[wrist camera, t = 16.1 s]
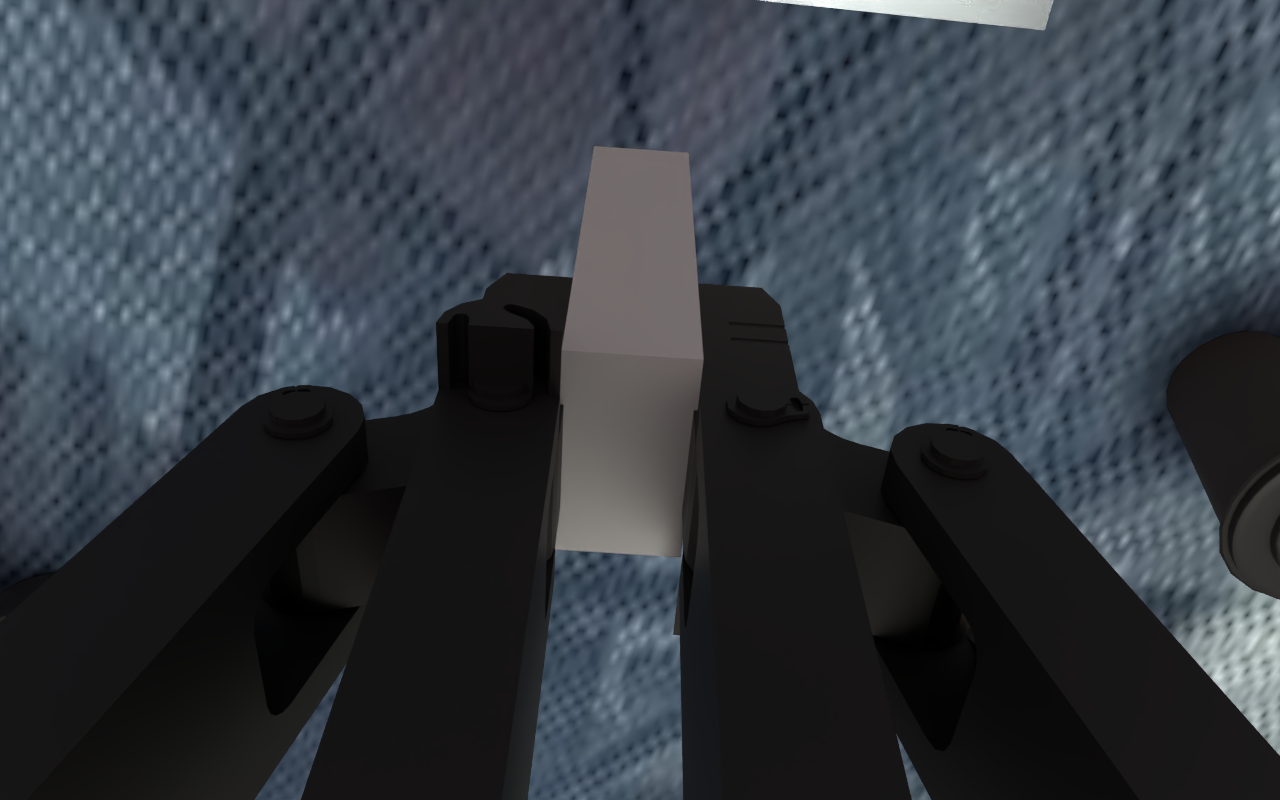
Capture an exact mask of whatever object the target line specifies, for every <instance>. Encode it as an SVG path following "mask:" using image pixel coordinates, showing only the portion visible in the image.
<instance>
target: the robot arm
mask: <svg viewBox="0 0 1280 800" xmlns="http://www.w3.org/2000/svg"><path fill="white" fill-rule="evenodd" d="M784 327H785V325H784V320H783V316H782V311H781V307H780V305H779V304H778V303H777V302H776V301H775V300H774V299H773V298H772V297H771V296H770V295H768V294H767V293H766V292H765V291H764V290H763V289H762V288H755V287H741V286H726V285H712V284H698V277H697V263H696V250H695V236H694V223H693V209H692V195H691V182H690V168H689V155H688V153H683V152H669V151H655V150H641V149H627V148H613V147H600V146H594V151H593V157H592V163H591V169H590V176H589V182H588V188H587V194H586V201H585V207H584V213H583V219H582V225H581V232H580V238H579V244H578V250H577V257H576V263H575V269H574V275H573V278H570V277H556V276H541V275H527V274H512V273H506V274H505V275H503V276H502V277H501V278H500V279H498V280H497V281H496V282H494V283H493V284H492V285H490V286H489V287H488V288H487V289H486V291H485V294H484V297H483V299H480V300H476V301H471V302H466V303H462V304H460V305H458V306H456V307H454V308H452V309H450V310H448V311H446V312H444V314H443V315H442V316H441V317H440V318H439V320H438V321H437V322H436V335H437V359H438V383H439V390H438V393H437V396H436V399H435V402H434V405H432V406H430V407H429V408H426V409H423V410H420V411H417V412H414V413H411V414H406V415H400V416H395V417H388V418H380V419H372V420H365V417H364V412H363V408H362V404H361V403H359V402H358V401H357V400H356V399H355V398H354V397H353V396H351V395H350V394H348V393H345V392H342V391H340V390H337V389H334V388H331V387H321V386H312V385H298V386H296V387H295V386H290V387H284V388H280V389H278V390H274V391H271V392H268V393H265V394H262V395H259V396H257V397H256V398H254V399H253V400H251V401H249V402H248V403H246V404H245V405H243V406H241V407H240V408H239V409H238V410H237V411H236V412H235V413H233V414H232V415H231V416H230V417H229V418H228V419H227V420H226V421H225V422H223V423H222V424H221V425H220V426H219V427H218V428H217V429H216V430H214V431H213V432H212V433H211V434H210V435H209V436H208V437H207V438H206V439H204V440H203V441H202V442H201V443H200V444H199V445H198V446H197V447H195V448H194V449H193V450H192V451H191V452H190V453H189V454H188V455H187V456H185V457H184V458H183V459H182V460H181V461H180V462H179V463H178V464H177V465H175V466H174V467H173V468H172V469H171V470H170V471H169V472H168V473H166V474H165V475H164V476H163V477H162V478H161V479H160V480H159V481H158V482H156V483H155V484H154V485H153V486H152V487H151V488H150V489H149V490H147V491H146V492H145V493H144V494H143V495H142V496H141V497H140V498H139V499H137V500H136V501H135V502H134V503H133V504H132V505H131V506H130V507H129V508H127V509H126V510H125V511H124V512H123V513H122V514H121V515H120V516H118V517H117V518H116V519H115V520H114V521H113V522H112V523H111V524H110V525H108V526H107V527H106V528H105V529H104V530H103V531H102V532H101V533H99V534H98V535H97V536H96V537H95V538H94V539H93V540H92V541H91V542H89V543H88V544H87V545H86V546H85V547H84V548H83V549H82V550H80V551H79V552H78V553H77V554H76V555H75V556H74V557H73V558H72V559H70V560H69V561H68V562H67V563H66V564H65V565H64V566H63V567H62V568H60V569H59V570H58V571H57V572H56V573H52V574H46V575H41V576H37V577H33V578H29V579H26V580H24V581H21V582H19V583H17V584H15V585H13V586H11V587H9V588H7V589H6V590H4V591H3V592H2V593H0V800H254V799H255V798H256V796H257V795H258V793H259V792H260V790H261V789H262V787H263V786H264V784H265V783H266V782H267V780H268V779H269V777H270V776H271V774H272V773H273V771H274V770H275V768H276V767H277V765H278V764H279V762H280V761H281V759H282V758H283V756H284V755H285V753H286V752H287V751H288V749H289V748H290V746H291V745H292V743H293V742H294V740H295V739H296V737H297V736H298V734H299V733H300V731H301V730H302V728H303V727H304V725H305V724H306V722H307V721H308V720H309V718H310V717H311V715H312V714H313V712H314V711H315V709H316V708H317V706H318V705H319V703H320V702H321V700H322V699H323V697H324V696H325V694H326V693H327V691H328V690H329V689H330V687H331V686H332V684H333V683H334V681H335V680H336V678H337V677H338V675H339V674H340V672H341V671H342V669H343V668H344V666H345V665H346V667H345V670H344V673H343V676H342V679H341V682H340V685H339V688H338V691H337V694H336V697H335V700H334V703H333V706H332V709H331V712H330V715H329V718H328V721H327V724H326V727H325V730H324V733H323V736H322V739H321V742H320V745H319V747H318V750H317V753H316V756H315V759H314V762H313V765H312V768H311V771H310V774H309V777H308V780H307V783H306V786H305V789H304V792H303V795H302V798H301V800H527V799H528V791H529V783H530V774H531V766H532V758H533V750H534V741H535V733H536V725H537V717H538V708H539V700H540V692H541V684H542V675H543V667H544V659H545V651H546V642H547V634H548V626H549V617H550V609H551V601H552V593H553V584H554V568H555V549H557V550H573V551H589V552H605V553H621V554H637V555H653V556H669V557H681V549H682V540H683V556H682V565H681V573H680V582H679V590H678V599H677V607H676V615H675V624H674V632H673V635H680V662H681V711H682V760H683V800H912V799H911V795H910V790H909V786H908V782H907V778H906V774H905V769H904V765H903V761H902V757H901V752H900V748H899V744H898V740H897V736H896V734H897V735H898V737H899V739H900V741H901V743H902V745H903V747H904V749H905V751H906V752H907V754H908V756H909V758H910V760H911V762H912V764H913V766H914V768H915V769H916V771H917V773H918V775H919V777H920V779H921V781H922V783H923V785H924V786H925V788H926V790H927V792H928V794H929V796H930V798H931V800H1280V756H1279V754H1278V753H1277V752H1276V751H1275V750H1274V749H1273V748H1272V747H1271V745H1270V744H1269V743H1268V742H1267V741H1266V740H1265V739H1264V738H1263V736H1262V735H1261V734H1260V733H1259V732H1258V731H1257V730H1256V729H1255V727H1254V726H1253V725H1252V724H1251V723H1250V722H1249V721H1248V720H1247V718H1246V717H1245V716H1244V715H1243V714H1242V713H1241V712H1240V711H1239V709H1238V708H1237V707H1236V706H1235V705H1234V704H1233V703H1232V702H1231V700H1230V699H1229V698H1228V697H1227V696H1226V695H1225V694H1224V693H1223V691H1222V690H1221V689H1220V688H1219V687H1218V686H1217V685H1216V684H1215V682H1214V681H1213V680H1212V679H1211V678H1210V677H1209V676H1208V675H1207V673H1206V672H1205V671H1204V670H1203V669H1202V668H1201V667H1200V666H1199V664H1198V663H1197V662H1196V661H1195V660H1194V659H1193V658H1192V657H1191V655H1190V654H1189V653H1188V652H1187V651H1186V650H1185V649H1184V648H1183V646H1182V645H1181V644H1180V643H1179V642H1178V641H1177V640H1176V639H1175V637H1174V636H1173V635H1172V634H1171V633H1170V632H1169V631H1168V630H1167V628H1166V627H1165V626H1164V625H1163V624H1162V623H1161V622H1160V621H1159V619H1158V618H1157V617H1156V616H1155V615H1154V614H1153V613H1152V612H1151V610H1150V609H1149V608H1148V607H1147V606H1146V605H1145V604H1144V603H1143V601H1142V600H1141V599H1140V598H1139V597H1138V596H1137V595H1136V594H1135V592H1134V591H1133V590H1132V589H1131V588H1130V587H1129V586H1128V585H1127V583H1126V582H1125V581H1124V580H1123V579H1122V578H1121V577H1120V576H1119V574H1118V573H1117V572H1116V571H1115V570H1114V569H1113V568H1112V567H1111V565H1110V564H1109V563H1108V562H1107V561H1106V560H1105V559H1104V558H1103V556H1102V555H1101V554H1100V553H1099V552H1098V551H1097V550H1096V549H1095V547H1094V546H1093V545H1092V544H1091V543H1090V542H1089V541H1088V540H1087V538H1086V537H1085V536H1084V535H1083V534H1082V533H1081V532H1080V531H1079V529H1078V528H1077V527H1076V526H1075V525H1074V524H1073V523H1072V522H1071V520H1070V519H1069V518H1068V517H1067V516H1066V515H1065V514H1064V513H1063V511H1062V510H1061V509H1060V508H1059V507H1058V506H1057V505H1056V504H1055V502H1054V501H1053V500H1052V499H1051V498H1050V497H1049V496H1048V495H1047V493H1046V492H1045V491H1044V490H1043V489H1042V488H1041V487H1040V486H1039V484H1038V483H1037V482H1036V481H1035V480H1034V479H1033V478H1032V477H1031V475H1030V474H1029V473H1028V472H1027V471H1026V470H1025V469H1024V468H1023V466H1022V465H1021V464H1020V463H1019V462H1018V461H1017V460H1016V459H1015V457H1014V456H1013V455H1012V454H1011V453H1010V452H1008V451H1007V450H1006V449H1005V448H1004V447H1002V446H1001V445H1000V444H999V443H997V442H996V441H995V440H993V439H991V438H989V437H987V436H984V435H982V434H980V433H978V432H976V431H974V430H972V429H969V428H966V427H958V425H952V424H933V423H925V424H920V425H915V426H911V427H907V428H905V429H904V430H902V431H901V432H900V433H898V434H897V435H895V436H894V439H893V442H892V445H891V448H890V452H889V451H885V450H881V449H877V448H873V447H869V446H865V445H862V444H858V443H855V442H852V441H849V440H846V439H843V438H841V437H839V436H837V435H835V434H833V433H831V432H829V431H827V430H825V429H824V428H823V424H822V419H821V415H820V413H819V411H818V409H817V408H816V406H815V404H814V403H813V401H812V400H810V399H809V398H808V397H806V396H805V395H804V394H802V393H801V392H799V389H798V385H797V380H796V375H795V371H794V366H793V362H792V357H791V352H790V348H789V345H788V339H787V334H786V330H785V329H784ZM346 663H347V664H346Z"/></svg>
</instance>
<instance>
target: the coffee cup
mask: <svg viewBox="0 0 1280 800" xmlns="http://www.w3.org/2000/svg"><path fill="white" fill-rule="evenodd" d="M1166 393H1167V408H1168V410H1169V412H1170V414H1171V417H1172V419H1173V421H1174V423H1175V425H1176V428H1177V430H1178V432H1179V434H1180V436H1181V439H1182V441H1183V443H1184V445H1185V447H1186V450H1187V452H1188V454H1189V456H1190V458H1191V461H1192V463H1193V465H1194V467H1195V469H1196V471H1197V474H1198V476H1199V478H1200V480H1201V482H1202V485H1203V487H1204V489H1205V491H1206V493H1207V496H1208V498H1209V500H1210V502H1211V504H1212V507H1213V509H1214V511H1215V513H1216V515H1217V518H1218V520H1219V522H1220V526H1219V538H1220V554H1221V556H1222V558H1223V560H1224V561H1225V563H1226V565H1227V567H1228V569H1229V571H1230V573H1231V574H1232V575H1233V576H1235V577H1236V578H1237V579H1239V580H1240V581H1241V582H1243V583H1244V584H1245V585H1247V586H1248V587H1249V588H1251V589H1252V590H1254V591H1258V592H1261V593H1264V594H1266V595H1269V596H1271V597H1274V598H1276V599H1280V338H1278V337H1276V336H1273V335H1270V334H1267V333H1264V332H1248V331H1242V332H1237V333H1233V334H1228V335H1223V336H1220V337H1218V338H1216V339H1214V340H1212V341H1210V342H1208V343H1205V344H1203V345H1201V346H1200V347H1199V348H1197V349H1196V350H1195V351H1194V352H1192V353H1191V354H1190V355H1189V356H1187V357H1186V358H1185V359H1184V360H1183V361H1182V362H1181V364H1180V365H1179V366H1178V368H1177V369H1176V370H1175V372H1174V373H1173V374H1172V377H1171V380H1170V383H1169V385H1168V388H1167V391H1166Z"/></svg>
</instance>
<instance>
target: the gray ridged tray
mask: <svg viewBox="0 0 1280 800" xmlns="http://www.w3.org/2000/svg"><path fill="white" fill-rule="evenodd" d="M762 1H771V2H781V3H790V4H800V5H809V6H819V7H828V8H838V9H847V10H857V11H866V12H876V13H886V14H895V15H905V16H914V17H924V18H933V19H943V20H952V21H962V22H971V23H981V24H990V25H1000V26H1009V27H1019V28H1028V29H1038V30H1045V27H1046V23H1047V20H1048V17H1049V13H1050V10H1051V7H1052V3H1053V0H762Z"/></svg>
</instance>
